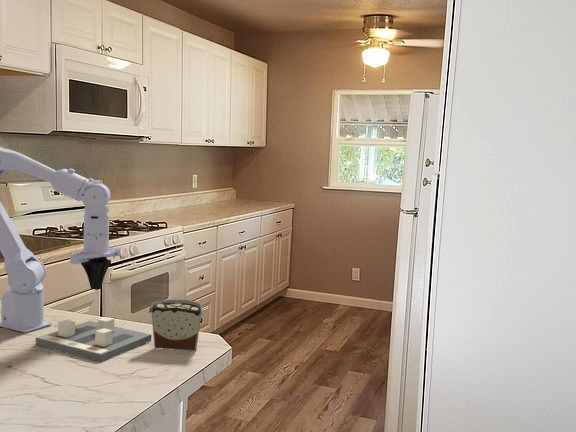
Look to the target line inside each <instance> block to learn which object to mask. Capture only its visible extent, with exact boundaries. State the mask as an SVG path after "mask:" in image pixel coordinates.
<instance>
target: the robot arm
mask: <svg viewBox="0 0 576 432" xmlns="http://www.w3.org/2000/svg"><path fill="white" fill-rule="evenodd" d="M10 170H13V171H14V170H16V171H20V172H22V173H25V174H27V175H30V176H32V177H35V178H37V179H39V180H42V181H45V182H47V183H50V185H51V187H52V189H53V191H54V192H56V193H59V194H61V195H63V196H65V197H68V198H70V199H73V200H75V201H77V202H81V201H82V203H83V205H84V215H83V250H82V251H80V252H78V253H73V254H71V255H69V263H70V264H72V265H79V264H81V266H82V268H83V269H84V272H85V273H86V275H87V279H88V282H89V283H88V284H89V288H90V290H95V291H100V290H101V289H102V285H103V283H104V278H105V275H106V273H107V271H108V269H109V267H110V265H111V264H112V259H108V258H111V257H120V256H121V247H109V243H110V242H109V241H110V239H109V237H110V214H109V209H110V208H109V202H110V200H111V196H112V195H111V190H110V188H109V187H108V186H107V185H105V184H104V183H102V182H100V181H99V182H98V181H97V182H95V179H93V178H92V177H90V178H86V177H85V176H82V175H80V174H78V173H75V172H76V170H75V169H74V168H68V169H66V168H61V169H59V170H56V169H53V168H52V167H49V166H48V165H45V164H43V163H42V162H39V161H37V160H35V159H33V158H31V157H28V156H27V155H25V154H23V153H21V152H18V151H15V150H13V149H9V148H5V147H3V146H1V145H0V176H1V175H2V174H3V173H4V172H5V171H10ZM0 253H1V254H2V256H3V259H4V262H3V263H4V265H3V266H4V270H5V272H6V274H7V283H8V286H9V287H10V288H7V289H6V290H5V291H4V292H3V294H2V297H1V301H0V302H1V303H0V307H1V308H0V313H1V315H0V318H1V320H0V327H2V328H5V329H10V330H14V331H17V332H22V333H28V332H31V331H35V330H39V329H41V328H46V327H48V326H49V327H50V326H51V325H52V324H53V322H50V321H46V320H44V319H45V318H44V317H45V316H44V315H45V313H44V312H45V309H44V307H45V305H44V304H45V301H44V299H45V295H44V294H45V293H44V291H45V287H44V286H43V284H42V282H43V280H45V277H46V276H47V275H46V274H47V269H46V267H45V265H44V264H43V263H42V261H40V260H39V259H37V257H35V255H34V253H33V252H32V251H31V250H30V249H28V248H27V247H26V245H25V244H24V241H23V240H22V238H21V236H20V235H19V233H18V230H17V228H16V227H15V225H14V224H13V222H12V220H11V218H10V216H9V214H8V212H7V210H6V209H5V207H4V205H3V204H2V201H1V200H0Z"/></svg>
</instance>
